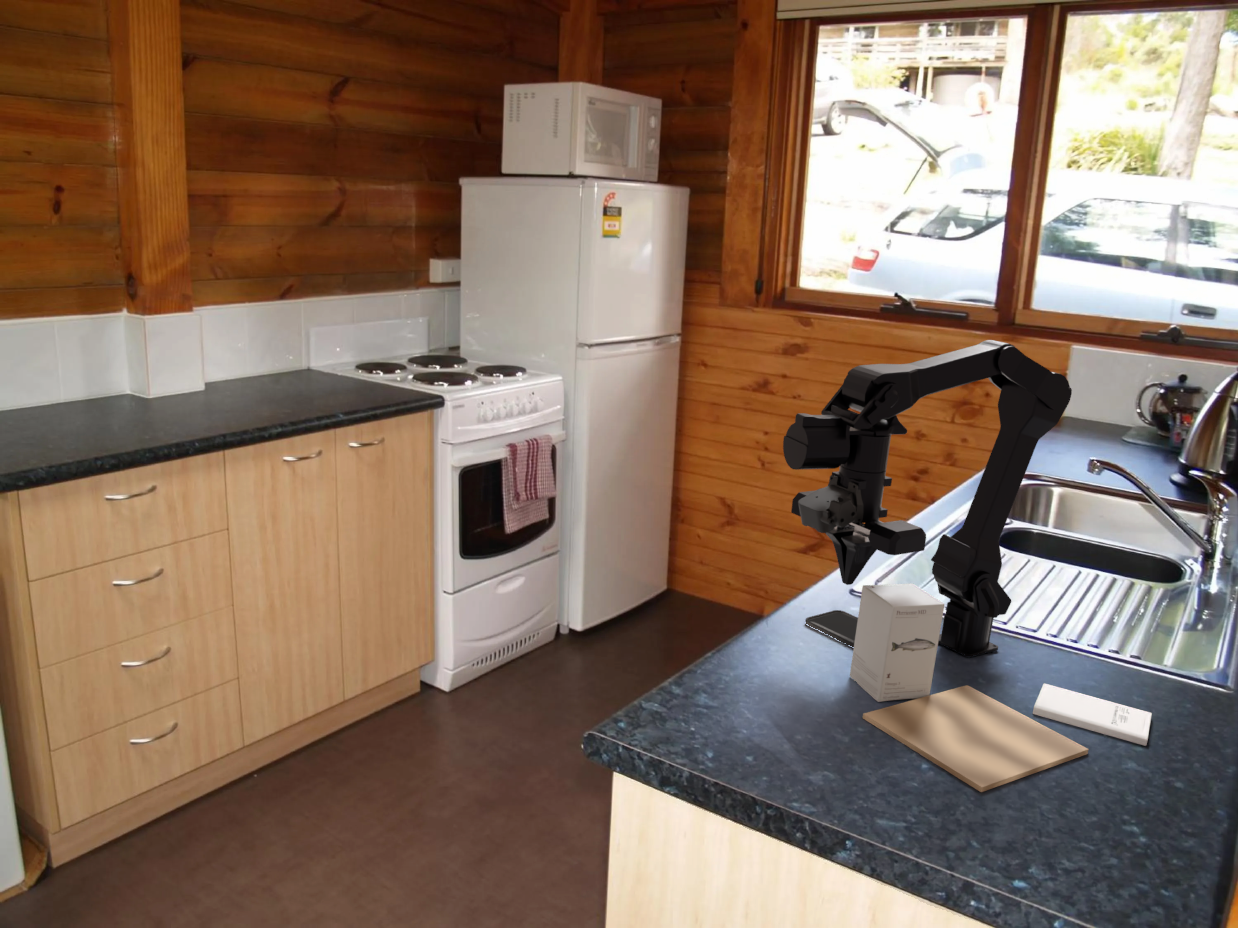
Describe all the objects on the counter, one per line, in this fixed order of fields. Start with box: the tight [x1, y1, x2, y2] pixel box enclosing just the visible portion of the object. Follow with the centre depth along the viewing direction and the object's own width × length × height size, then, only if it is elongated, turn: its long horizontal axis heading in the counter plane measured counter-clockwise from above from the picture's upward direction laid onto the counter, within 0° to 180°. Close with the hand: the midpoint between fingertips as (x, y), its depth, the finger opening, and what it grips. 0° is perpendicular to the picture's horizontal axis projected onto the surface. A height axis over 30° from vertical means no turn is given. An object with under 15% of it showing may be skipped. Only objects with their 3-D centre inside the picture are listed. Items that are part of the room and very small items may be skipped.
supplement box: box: [849, 583, 945, 703], centre depth 125 cm, size 7×7×13 cm
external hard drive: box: [1032, 682, 1153, 747], centre depth 123 cm, size 2×8×12 cm
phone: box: [805, 609, 858, 647], centre depth 142 cm, size 8×1×15 cm
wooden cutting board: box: [862, 685, 1089, 793], centre depth 116 cm, size 18×17×1 cm
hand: (847, 583), depth 132 cm, fingers closed
